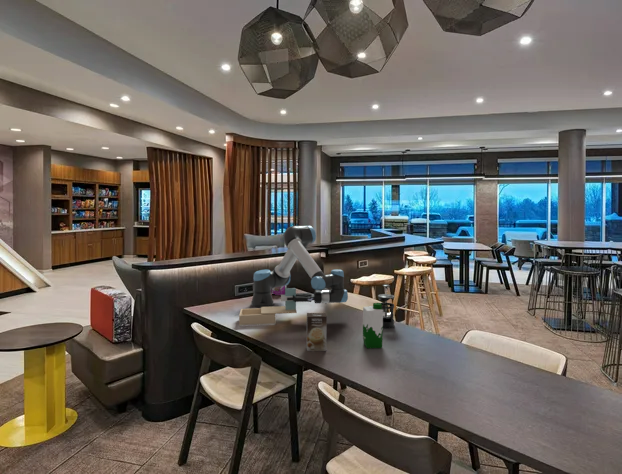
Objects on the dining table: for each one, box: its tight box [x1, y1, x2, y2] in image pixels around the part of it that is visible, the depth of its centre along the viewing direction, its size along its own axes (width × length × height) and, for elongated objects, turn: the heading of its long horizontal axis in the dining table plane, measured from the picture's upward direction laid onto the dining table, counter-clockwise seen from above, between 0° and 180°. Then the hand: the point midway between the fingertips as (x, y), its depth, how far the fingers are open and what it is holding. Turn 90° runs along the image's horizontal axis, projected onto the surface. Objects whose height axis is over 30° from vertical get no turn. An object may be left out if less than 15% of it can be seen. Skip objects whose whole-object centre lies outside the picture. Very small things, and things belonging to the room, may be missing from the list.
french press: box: [377, 284, 395, 329], centre depth 202 cm, size 12×9×23 cm
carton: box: [238, 307, 276, 327], centre depth 211 cm, size 20×14×6 cm
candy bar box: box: [271, 285, 287, 296], centre depth 280 cm, size 11×5×16 cm, turn 84°
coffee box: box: [305, 312, 328, 352], centre depth 168 cm, size 9×6×16 cm
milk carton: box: [362, 302, 384, 349], centre depth 172 cm, size 9×9×20 cm
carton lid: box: [260, 287, 298, 315], centre depth 211 cm, size 20×14×12 cm
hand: (281, 297), depth 211 cm, fingers closed on carton lid, 3 cm apart
